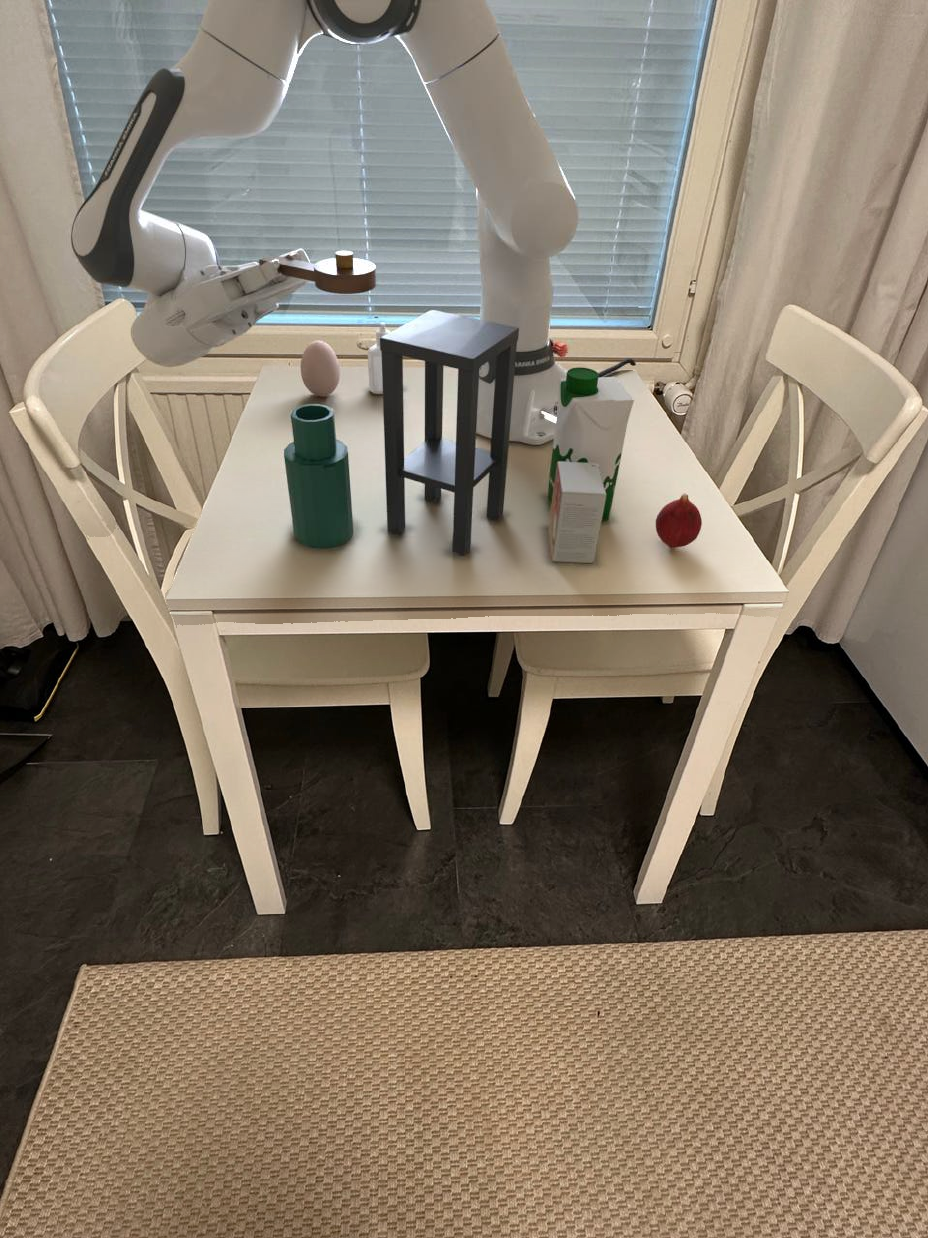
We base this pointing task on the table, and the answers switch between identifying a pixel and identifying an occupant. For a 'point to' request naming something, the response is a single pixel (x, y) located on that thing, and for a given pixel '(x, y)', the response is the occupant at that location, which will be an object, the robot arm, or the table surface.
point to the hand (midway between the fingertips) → (287, 262)
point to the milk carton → (591, 426)
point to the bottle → (318, 479)
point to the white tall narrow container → (376, 362)
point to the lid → (332, 272)
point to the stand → (438, 458)
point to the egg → (320, 369)
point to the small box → (576, 512)
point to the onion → (678, 522)
